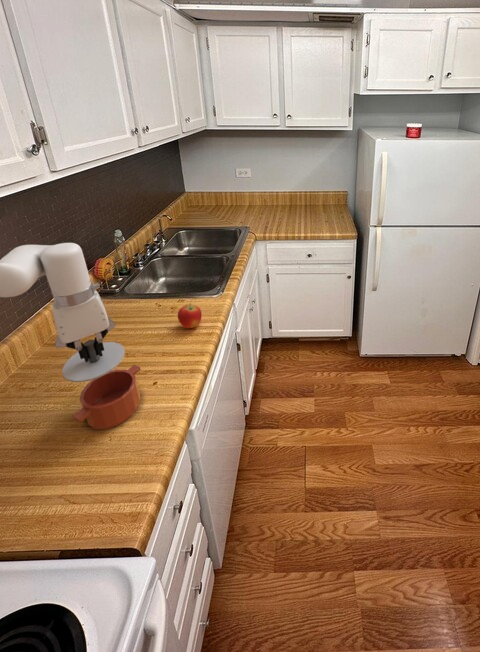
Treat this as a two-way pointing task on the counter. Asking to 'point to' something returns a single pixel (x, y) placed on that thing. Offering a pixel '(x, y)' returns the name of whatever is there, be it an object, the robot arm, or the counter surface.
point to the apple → (189, 316)
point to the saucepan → (110, 399)
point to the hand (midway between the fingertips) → (93, 355)
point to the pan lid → (93, 362)
